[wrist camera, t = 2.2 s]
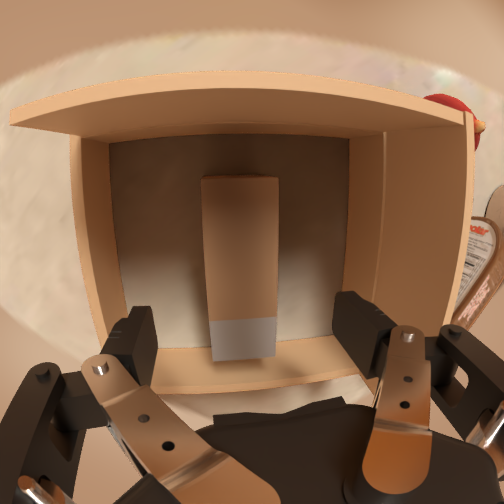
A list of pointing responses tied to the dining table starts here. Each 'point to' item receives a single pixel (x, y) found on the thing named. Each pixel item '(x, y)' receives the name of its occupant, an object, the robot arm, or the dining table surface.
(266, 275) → the box
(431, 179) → the carton
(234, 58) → the dining table surface
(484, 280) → the tin
